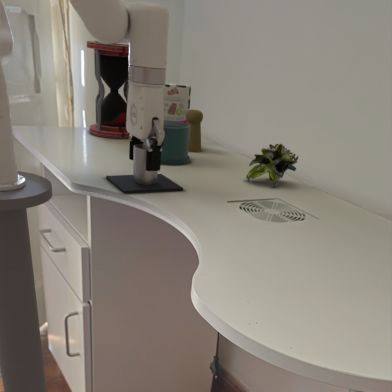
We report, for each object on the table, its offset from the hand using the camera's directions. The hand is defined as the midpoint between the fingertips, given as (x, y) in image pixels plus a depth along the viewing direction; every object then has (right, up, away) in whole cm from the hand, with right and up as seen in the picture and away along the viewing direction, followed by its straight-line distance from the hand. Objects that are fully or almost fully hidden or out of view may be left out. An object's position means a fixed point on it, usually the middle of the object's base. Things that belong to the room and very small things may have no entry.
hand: (144, 165), depth 105 cm
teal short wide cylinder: (+3, +12, +26) cm, 28 cm away
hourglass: (-15, +29, +49) cm, 59 cm away
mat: (0, -3, +2) cm, 4 cm away
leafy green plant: (+31, +1, +14) cm, 34 cm away
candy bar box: (+3, +26, +47) cm, 54 cm away
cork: (+10, +20, +40) cm, 46 cm away
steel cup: (0, -3, +2) cm, 4 cm away
